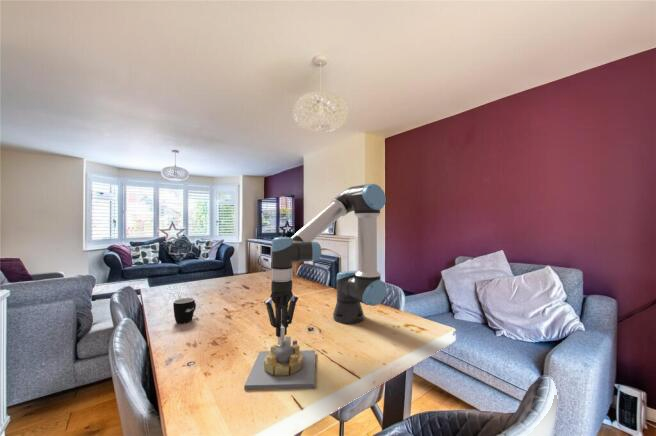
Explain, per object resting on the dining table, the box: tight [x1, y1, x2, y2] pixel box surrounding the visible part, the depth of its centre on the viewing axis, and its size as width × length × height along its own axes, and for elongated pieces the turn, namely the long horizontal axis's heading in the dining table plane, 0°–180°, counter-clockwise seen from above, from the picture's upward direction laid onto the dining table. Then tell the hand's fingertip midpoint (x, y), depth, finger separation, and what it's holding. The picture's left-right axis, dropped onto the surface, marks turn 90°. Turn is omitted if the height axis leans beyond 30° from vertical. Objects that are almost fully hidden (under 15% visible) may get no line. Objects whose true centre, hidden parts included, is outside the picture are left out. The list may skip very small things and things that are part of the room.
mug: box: [172, 297, 197, 325], centre depth 130 cm, size 12×9×10 cm
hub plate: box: [243, 340, 316, 390], centre depth 87 cm, size 20×20×6 cm
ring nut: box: [264, 336, 303, 376], centre depth 91 cm, size 20×12×4 cm, turn 3°
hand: (281, 344), depth 98 cm, fingers closed
